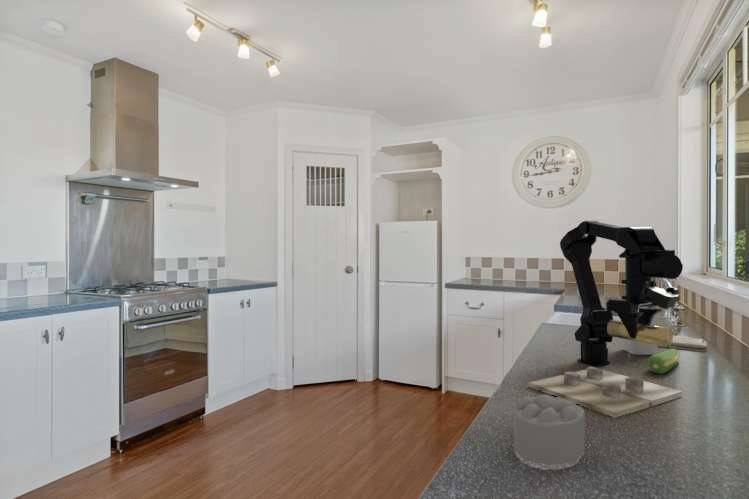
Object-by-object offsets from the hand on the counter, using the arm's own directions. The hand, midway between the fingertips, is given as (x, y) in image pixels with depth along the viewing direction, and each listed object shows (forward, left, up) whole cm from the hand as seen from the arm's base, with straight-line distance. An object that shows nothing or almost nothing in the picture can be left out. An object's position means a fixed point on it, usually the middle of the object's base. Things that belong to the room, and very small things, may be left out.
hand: (638, 337), depth 111 cm
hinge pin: (0, 0, -1) cm, 1 cm away
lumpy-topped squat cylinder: (+15, -52, -11) cm, 55 cm away
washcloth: (-16, +48, -12) cm, 52 cm away
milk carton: (-16, +28, -11) cm, 34 cm away
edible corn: (-3, +18, -12) cm, 21 cm away
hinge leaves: (+1, -16, -11) cm, 19 cm away
